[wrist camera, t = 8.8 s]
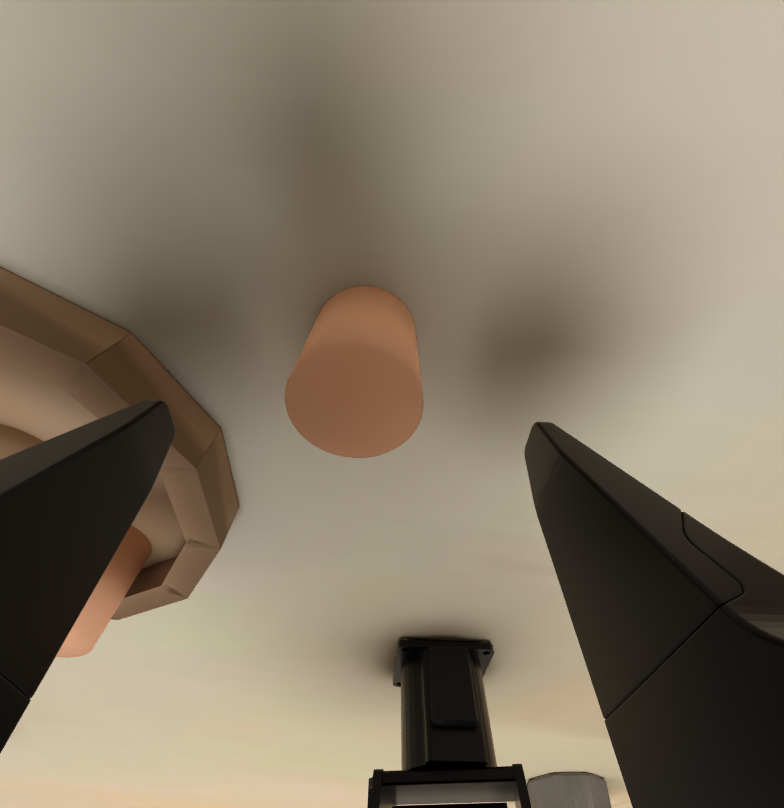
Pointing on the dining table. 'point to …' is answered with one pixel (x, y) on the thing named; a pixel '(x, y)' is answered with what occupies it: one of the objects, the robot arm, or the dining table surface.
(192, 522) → the groove tray
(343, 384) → the bead
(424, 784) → the robot arm
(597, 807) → the coffeepot
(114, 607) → the bead
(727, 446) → the dining table surface
